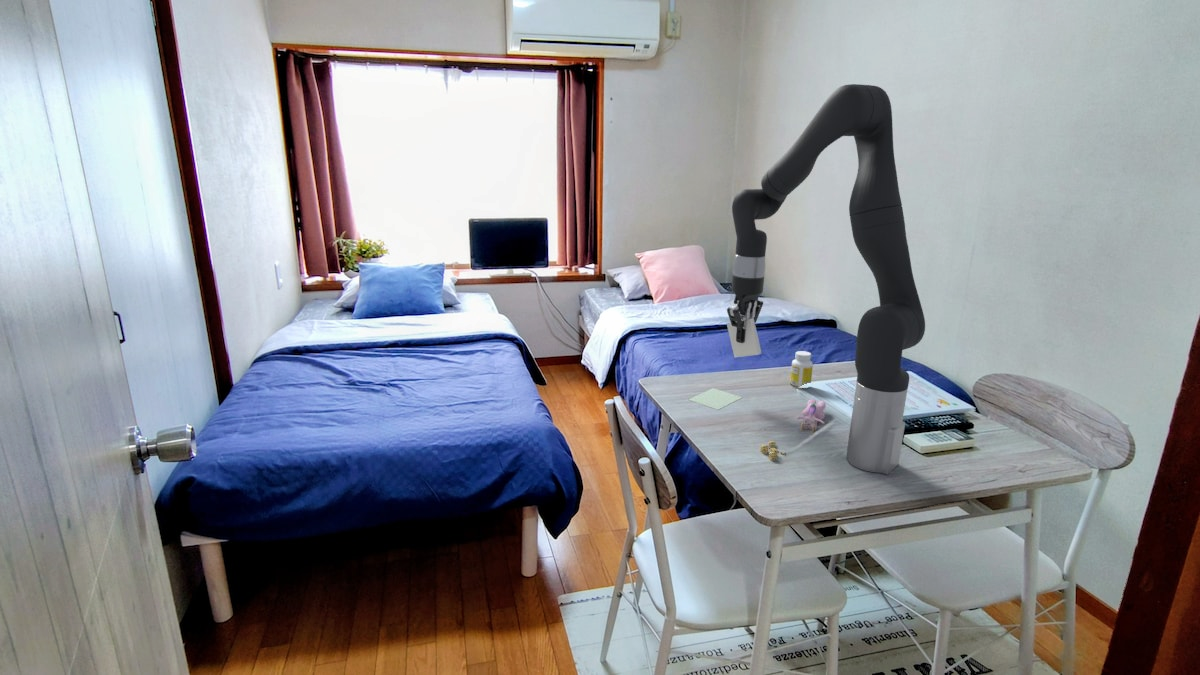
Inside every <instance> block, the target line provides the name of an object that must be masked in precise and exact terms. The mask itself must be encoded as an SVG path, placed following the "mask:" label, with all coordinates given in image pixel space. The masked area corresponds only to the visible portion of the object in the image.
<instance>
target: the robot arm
mask: <svg viewBox="0 0 1200 675" xmlns="http://www.w3.org/2000/svg"><path fill="white" fill-rule="evenodd" d="M824 101H825V102H823V104H822V105H821V107H820V108H819V109H818V111H817V112H816V114H815V115H814V116H813V118H812V119H811V121H810V122H808V123H809V124H807V126H806V127H805V128H804V130H803V131H802V133H801V134H800V135H799V137H798V138H797V139H796V140H795V142H794V143H793V144H792V146H791V147H789V149H788V150H787V151H786V152H785V153H784V155H782V157H780V158H779V159H778V160H777V161H776V162H775V163H774V164H773V165H772V166H771V167H770V168H769V169H768V170H767V171H766V172H765V173H764V175H763V176H762V178H761V182H760V184H761V185H760V186H761V188H755V189H754V188H747V189H746V188H745V189H741V190H740V191H738V192H737V193H736V194H735V195H734V198H733V200H732V205H731V213H732V219H733V223H734V229H735V234H736V245H735V255H734V261H733V265H732V266H733V267H732V278H731V279H732V280H731V291H732V293H734V295H735V296H734V299H733V305H732V307H730V306H729V307H727V308H726V311H727V315H728V318H729V322H731V325H732V326H734V327H736V328H737V333H736V341H737V342H739V343H744V342H745V332H746V325H747V320H748V319H750V318H754V322H755V324H756V323H757V320H758V318H759V315H760V313H761V310H762V308H763V306H764V301H762V300H759V295H761V294H763V292H764V284H765V275H766V252H767V251H766V249H767V242H768V237H767V233H766V232H765V231H763V230H760V229H757V227H756V220H757V221H758V220H766V219H769V218H771V217H772V216H774V215H775V214H776V213H777V212H778V211H779V209H780V208H781V206H782V205H783V204H784V202H785V200H786V199H787V197H788V196H789V195H790V194H791V193H792V192H793V191H794V190H796V188H798V187H799V186H800V185H801V184H802V183H803V182H804V181H805V180H807V178H808V177H809V175H810V174H811V173H812V170H813V169H814V167H815V164H816V161H817V160H818V157H819V156H820V155H821V153H822V152H823V151H824V150H825V149H827V148H828V147H829V146H830V145H832V144H833V143H834V142H836V141H837V140H839V139H840V138H842V137H853V138H854V141H855V146H856V151H857V159H858V160H857V161H858V162H857V163H858V169H857V174H856V178H855V180H854V184H853V188H852V190H851V194H850V200H849V205H848V211H849V212H848V214H849V218H850V219H849V221H850V226H851V231H852V237H853V242H854V243H855V246H856V248H857V250H858V252H859V254H860V255H861V257H862V259H863V260H864V262H865V264H866V265H867V266H868V268H869V269H870V271H871V273H872V275H873V277H874V279H875V282H876V287H877V290H878V292H877V293H878V298H879V305H878V306H875V307H872V308H869V309H868V310H867V311H865V312H864V314H863V315H862V317H861V319H860V321H859V324H858V328H857V333H856V335H857V336H856V343H855V345H856V346H855V357H854V365H855V368H856V374H857V376H856V377H857V378H856V382H855V383H856V385H855V391H854V398H853V406H852V413H851V419H850V420H851V421H850V427H849V434H848V442H847V448H846V455H845V456H846V457H845V458H846V460H847V462H848V463H849V464H850V465H852V466H853V467H856V468H857V469H860V470H862V471H865V472H871V473H881V474H883V475H884V474H885V475H889V474H891V472H892V471H893V470H895V469H896V467H897V466H898V465H899V463H900V459H901V458H900V457H901V450H902V445H903V439H904V434H905V433H904V432H905V428H906V422H905V421H904V420H903V417H904V415H905V414H904V413H905V407H906V401H907V396H908V389H909V384H910V383H909V382H910V375H909V372H907V370H905V369H904V368H902V357H903V351H904V350H907V349H910V348H913V347H915V346H916V345H918V344H919V343H920V342H921V341H922V339H923V338H924V335H925V331H926V320H925V314H924V310H923V306H922V303H921V300H920V297H919V294H918V290H917V286H916V283H915V278H914V274H913V269H912V268H913V267H912V262H911V256H910V250H909V246H908V245H909V244H908V240H907V232H906V224H905V223H906V222H905V217H904V216H905V215H904V210H903V204H902V199H901V194H900V187H899V182H898V172H897V167H896V160H895V151H894V135H893V132H894V131H893V130H894V128H893V112H892V111H893V110H892V104H891V99H890V97H889V95H888V94H887V92H886V91H885V90H884V89H883V88H882V87H879V86H878V85H871V84H870V85H869V84H859V83H858V84H855V83H853V84H845V85H842V86H840V87H838V88H836V89H835V90H834V91H833V92H832V93H831V94H830V95H829V96H828V97H827V99H826V100H824ZM742 320H743V324H742ZM735 321H736V322H735Z"/></svg>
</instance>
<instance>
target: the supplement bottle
mask: <svg viewBox="0 0 1200 675" xmlns="http://www.w3.org/2000/svg"><path fill="white" fill-rule="evenodd" d="M794 355H795V356H794V357H795V359H792V361H791V369H790V370H791V371H790V379H789V386H790V387H792V388H795V389H798V388H799V387H800V386H802V385H804V384H807V383H811V384H812V377H813V376H812V375H813V365H814V364H813V362H812V361H811V359H812V353H811V352H809V351H805V350H798V351H796V352H795V354H794ZM798 390H799V389H798Z"/></svg>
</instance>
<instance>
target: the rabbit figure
mask: <svg viewBox="0 0 1200 675" xmlns="http://www.w3.org/2000/svg"><path fill="white" fill-rule="evenodd" d="M826 406H827V405H826V401H823V400H820V401H818V402H817V400H816V399H812V398H810V399H809V400H808V401H807V402H806V408H805V409H804V410H802V412H801V415H802V416H801V415H800V416H797V417H796V419H797V420H801V419H802V420H801V424H800V429H799V431H800V432H801V431H802V432H803V431H804V429H805V430H807V429H809V430H810V431H811V432H810V433H812V436H813V435H814V434H815V432H814V431H816V430H818V423H821V424H822V425H825V423H826V422H825V421H823V420H824V419H825V418H826V417H825V414H824V410H825V408H826Z"/></svg>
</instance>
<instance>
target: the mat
mask: <svg viewBox="0 0 1200 675" xmlns="http://www.w3.org/2000/svg"><path fill="white" fill-rule="evenodd" d="M742 398H743V397H742V396H740V395H736V394H732V393H729V392H727V391H723V390H720V389H717V388H714V387H712V388H709V389H708V390H705V391H704V392H702V393H700V394H697V395H695V396H692V397H691V398H688V401H691V402H693V403H697V404H699V405H702V406H706V407H709V408H711V409H714V410H717V411H719V410H721V409H723V408H725V407H727V406H729V405H731V404H732V403H734V402H737V401H739V400H740V399H742Z"/></svg>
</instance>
